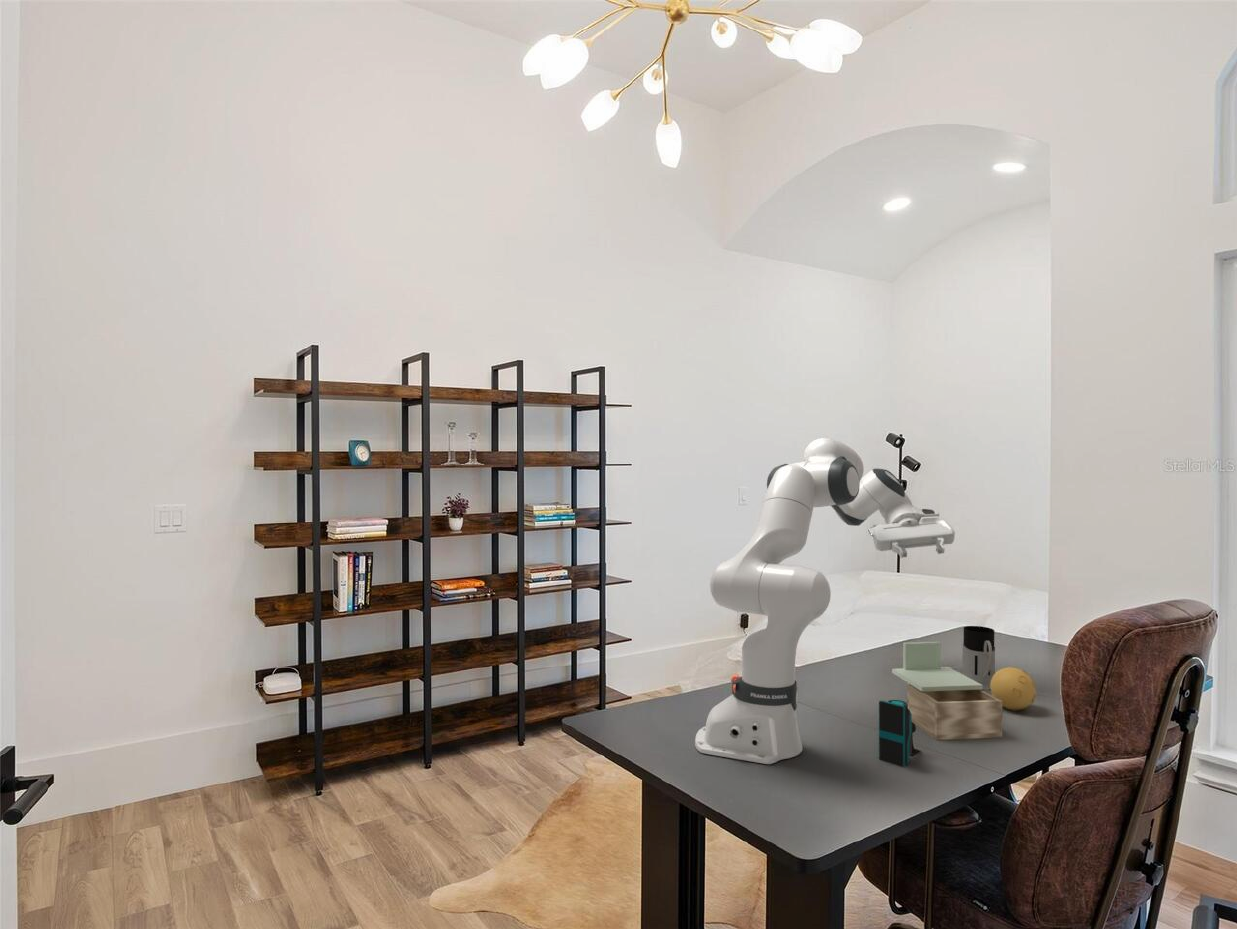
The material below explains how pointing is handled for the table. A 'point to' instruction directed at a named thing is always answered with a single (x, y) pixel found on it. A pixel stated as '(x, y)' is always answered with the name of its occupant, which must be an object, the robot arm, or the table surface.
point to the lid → (930, 669)
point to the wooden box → (956, 713)
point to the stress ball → (1013, 688)
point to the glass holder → (979, 655)
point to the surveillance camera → (896, 732)
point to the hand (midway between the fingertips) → (922, 553)
